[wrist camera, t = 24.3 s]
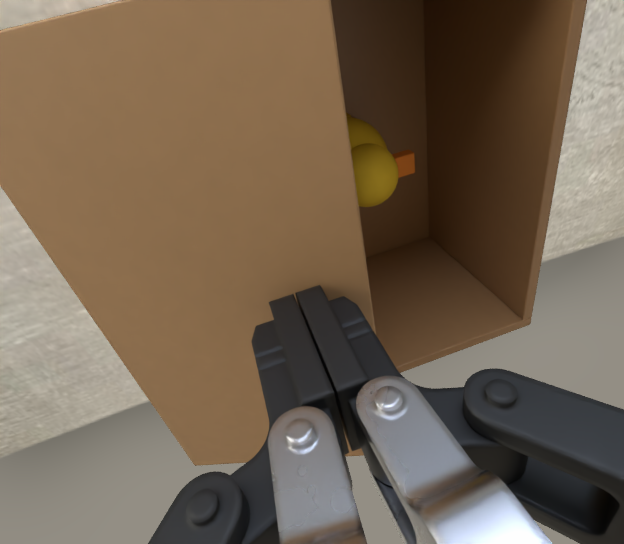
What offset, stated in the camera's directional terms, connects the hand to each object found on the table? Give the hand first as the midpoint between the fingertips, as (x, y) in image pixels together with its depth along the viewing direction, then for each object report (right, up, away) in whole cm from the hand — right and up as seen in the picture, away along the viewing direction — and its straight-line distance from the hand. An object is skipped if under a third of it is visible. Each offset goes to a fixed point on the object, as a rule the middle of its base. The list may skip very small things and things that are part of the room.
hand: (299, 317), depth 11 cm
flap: (-2, 0, +1) cm, 2 cm away
